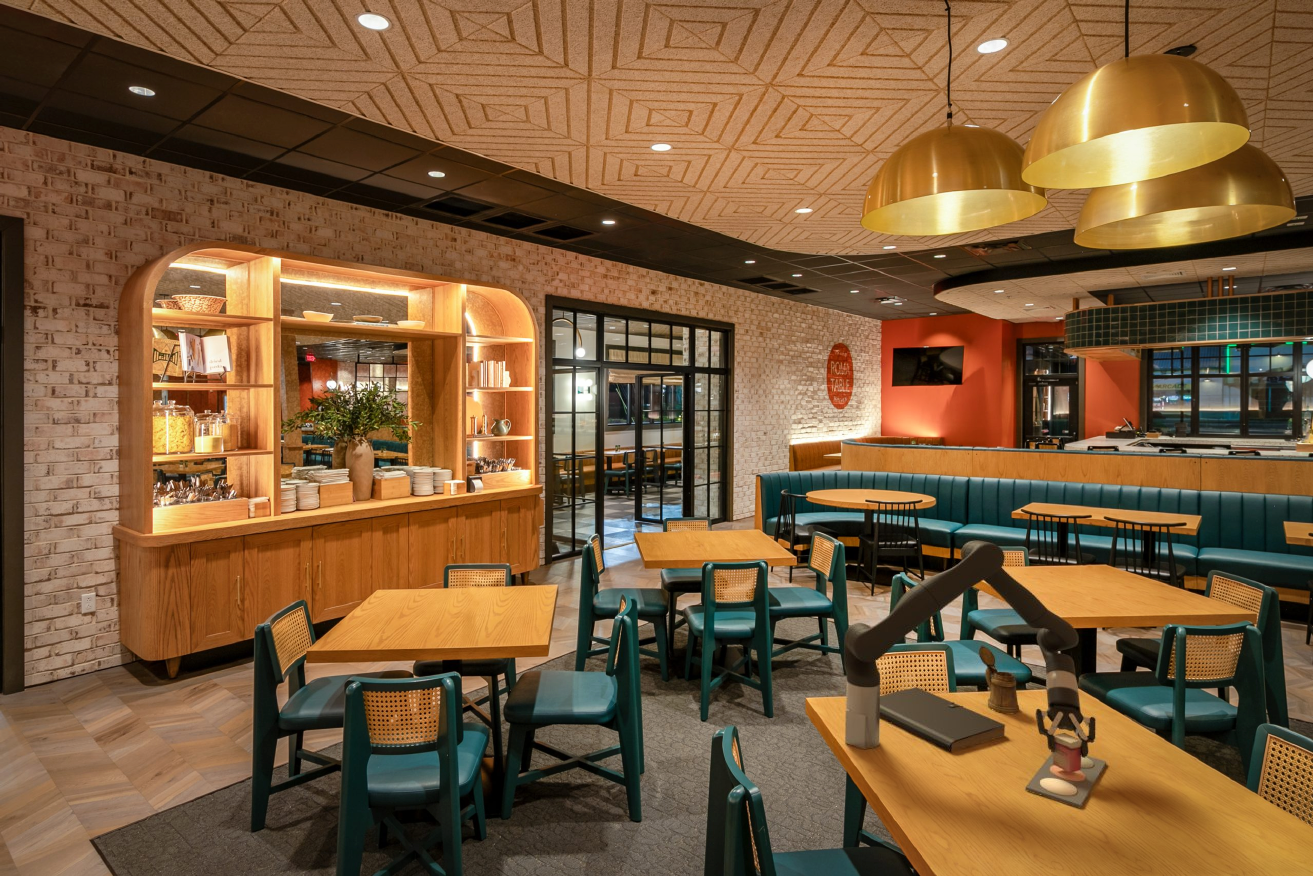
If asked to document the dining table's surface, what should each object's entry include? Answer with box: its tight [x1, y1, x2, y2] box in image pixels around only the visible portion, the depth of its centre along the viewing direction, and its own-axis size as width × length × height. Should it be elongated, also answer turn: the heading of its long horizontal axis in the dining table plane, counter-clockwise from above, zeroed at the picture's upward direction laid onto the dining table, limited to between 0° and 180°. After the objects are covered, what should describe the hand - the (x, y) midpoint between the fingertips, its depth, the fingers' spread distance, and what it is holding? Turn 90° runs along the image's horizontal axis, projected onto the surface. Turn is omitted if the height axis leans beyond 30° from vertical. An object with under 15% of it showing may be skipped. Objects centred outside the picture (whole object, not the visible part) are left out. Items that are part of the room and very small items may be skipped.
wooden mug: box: [978, 644, 1020, 714], centre depth 227 cm, size 9×14×18 cm, turn 24°
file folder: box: [880, 687, 1006, 753], centre depth 214 cm, size 33×4×24 cm
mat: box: [1025, 752, 1107, 809], centre depth 181 cm, size 30×12×1 cm, turn 137°
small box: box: [1053, 732, 1082, 773], centre depth 181 cm, size 5×4×8 cm
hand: (1068, 753), depth 179 cm, fingers closed on small box, 6 cm apart
